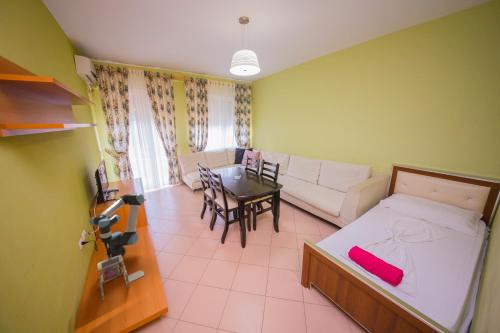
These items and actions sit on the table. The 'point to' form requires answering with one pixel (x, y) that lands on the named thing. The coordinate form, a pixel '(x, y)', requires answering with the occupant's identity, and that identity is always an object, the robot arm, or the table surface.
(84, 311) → the table surface
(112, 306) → the table surface
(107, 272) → the box
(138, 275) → the mat
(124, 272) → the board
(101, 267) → the cover
